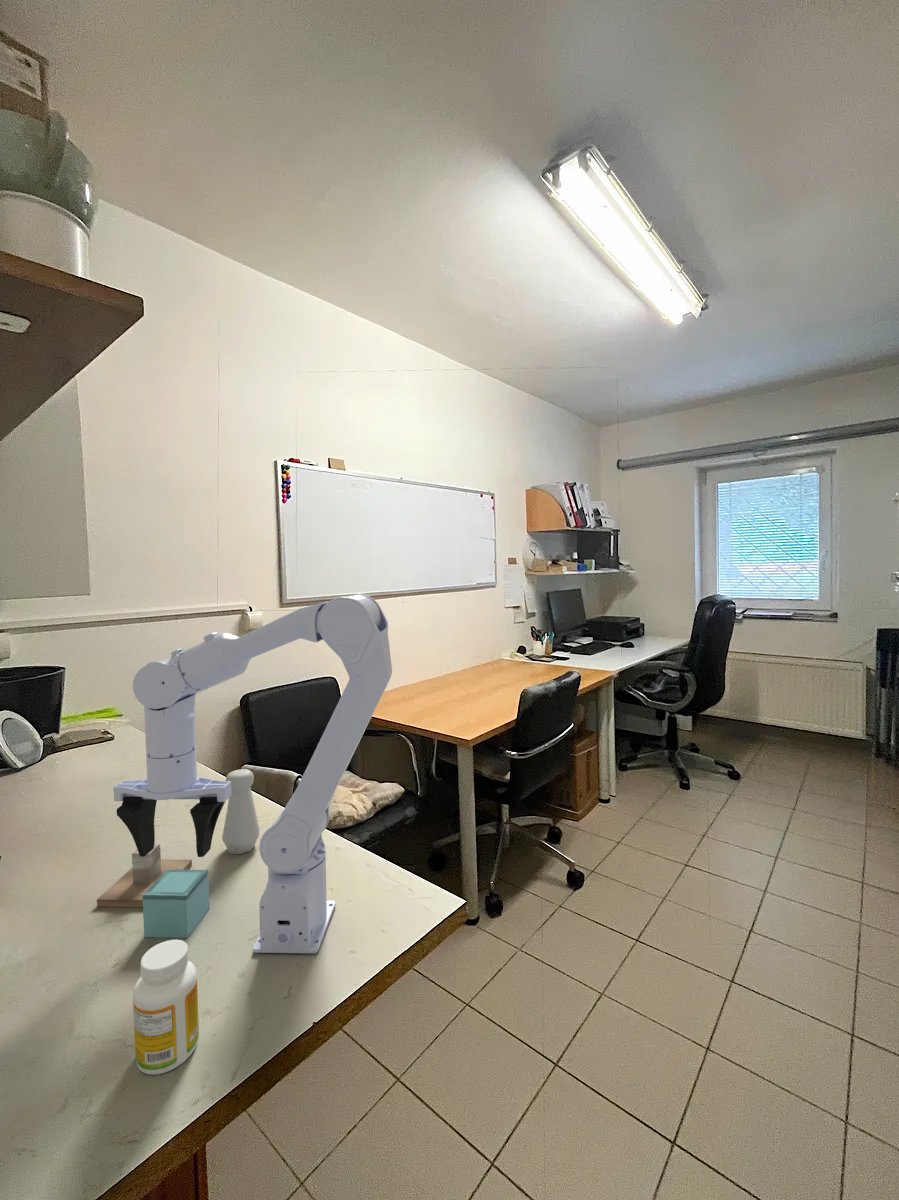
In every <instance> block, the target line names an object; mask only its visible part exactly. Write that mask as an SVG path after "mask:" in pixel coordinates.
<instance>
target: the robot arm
mask: <svg viewBox="0 0 899 1200" xmlns="http://www.w3.org/2000/svg"><path fill="white" fill-rule="evenodd" d="M301 639H302V640H305V641H309V642H313V643H318V642H320V641H324V642H325V644H326V646H328V647H329V648H330V649H331V650H332V651H333V652H334V653H335V654H336V655H337V657H339V658H340V660H341V662H342V664H343V666H344V669H345V671H346V673H347V675H348V677H349V679H348V681H347V683H346V685H345V688H344V689H343V692H342V694H341V696H340V698H339V701H337V702H338V703H337V704H336V707H335V708H334V710H333V713H332V715H331V717H330V719H329V721H328V723H327V725H326V727H325V729H324V731H323V733H322V735H321V737H320V739H319V742H318V743H317V746H316V748H315V750H314V752H313V754H312V756H311V758H310V760H309V762H308V765H306V766H307V767H306V769H305V771H304V772H303V775H302V777H301V779H300V781H299V783H298V785H297V786H296V789H295V791H294V793H293V794H292V796H291V797H290V799H289V801H288V802H287V803H286V805H285V807H284V809H283V810H282V812H281V813H280V814H279V815H278V817H277V818H276V819H275V821H273V823H272V825H271V826H269V828H267V829H266V830H265V831H264V833H263V834H262V836H261V838H260V841H259V847H258V848H259V855H260V857H261V859H262V861H263V863H264V864H265V866H267V871H268V873H267V875H268V876H267V877H268V878H267V883H266V887H265V889H264V891H263V893H262V895H261V897H260V900H259V905H258V907H259V909H258V911H259V912H258V913H259V914H258V915H259V935H258V936H257V939H256V941H255V942H254V945H253V946H252V952H253V953H259V954H260V953H261V954H262V953H264V954H265V953H266V954H267V953H268V954H269V953H270V954H275V953H276V954H316V953H317V952H319V949H320V947H321V944H322V942H323V939H324V936H325V934H326V931H327V928H328V926H329V923H330V921H331V918H332V915H333V913H334V911H335V908H336V901H335V900H330V899H329V900H328V899H327V860H326V859H327V856H326V855H327V853H326V849H327V848H326V846H325V842H324V840H323V837H322V836H323V834H322V833H324V831H325V830H326V829H327V826H328V825H329V822H330V806H331V803H332V800H333V798H334V796H335V792H336V791H337V788H338V786H339V784H340V782H341V781H342V778H343V777H344V774H345V772H346V770H347V769H348V767H349V764H350V762H351V760H352V757H353V755H354V754H355V752H356V750H357V748H358V746H359V743H360V741H361V739H362V737H363V735H364V733H365V731H366V729H367V727H368V725H369V723H370V721H371V719H372V717H373V714H374V713H375V711H376V709H377V707H378V705H379V703H380V700H382V699H381V698H382V696H383V694H384V692H385V690H386V689H387V686H388V685H389V682H390V680H391V678H392V673H393V667H392V665H393V664H392V659H391V650H390V639H389V622H388V620H387V617H386V616H385V613H384V612H383V610H382V608H381V606H380V604H379V603H378V602H377V600H375V599H374V598H373V597H371V596H369V595H368V594H364V593H354V594H350V595H348V596H339V597H335V598H333V599H331V600H329V601H325V602H321V603H316V604H313V605H309V606H305V607H301V608H299V609H296V610H293V611H291V612H289V613H288V614H286V615H283V616H282V617H281V616H280V617H279V618H277V619H275V620H273V621H271V622H269V623H267V624H265V625H262V626H260V627H258V628H256V629H254V630H252V631H249V632H248V633H245V634H243V635H242V636H237V635H234V634H231V633H228V632H223V633H220V634H219V632H218V631H215V632H211V633H209V634H207V635H204V636H203V640H204V641H202V642H200V643H198V644H195V645H193V646H190V647H188V648H187V649H185V650H184V649H183V648H177V649H175V650H173V651H171V652H170V655H171V656H170V658H165V659H163V660H160V661H159V660H158V661H150V662H148V663H146V664H145V666H143V667H141V668H140V669H139V670H138V671H137V672H136V673H135V675H134V678H133V680H132V691H133V694H134V696H135V699H136V700H137V701H138V703H140V704H141V705H143V712H144V713H143V714H144V736H145V757H146V758H145V759H146V760H145V761H146V778H145V779H135V780H123V781H120V783H117V784H116V785H115V786H113V801H114V802H122V803H121V805H120V806H119V807H117V808H116V816H117V817H118V818H119V819H120V820H121V821H122V823H124V825H125V826H126V828H127V830H128V831H129V832H130V834H131V837H132V839H133V842H134V843H135V845H136V850H137V849H138V852H139V855H140V857H145V856H146V855H147V854H148V853H149V852H150V851H151V850H152V849H154V844H156V843H155V841H156V838H155V837H156V836H155V834H156V833H155V817H156V808H157V807H156V806H157V801H167V800H199V802H197V803H196V804H195V805H194V806H193V807H192V808H190V809H189V813H190V815H191V818H192V822H193V825H194V830H195V839H196V840H195V841H196V842H195V844H196V845H195V849H196V855H197V858H204V857H205V856H206V855H207V853H208V852H210V850H211V848H212V841H213V836H214V832H215V830H216V829H215V828H216V825H217V822H218V819H219V816H220V814H221V812H222V809H223V808H224V806H225V804H226V801H227V800H229V797H230V796H231V781H226V780H218V779H212V778H207V777H202V776H198V764H197V763H198V762H197V740H196V737H197V735H196V710H195V707H196V696H197V694H198V693H201V692H204V691H205V690H208V689H211V688H213V687H215V686H217V685H219V684H222V683H225V682H226V681H229V680H231V679H234V678H236V677H238V676H240V675H242V674H244V673H245V672H246V670H247V668H248V665H249V663H250V660H251V659H253V658H255V657H258V656H260V655H263V654H266V653H267V652H271V651H273V650H275V649H277V648H280V647H282V646H284V645H288V644H290V643H292V642H294V641H297V640H301Z"/></svg>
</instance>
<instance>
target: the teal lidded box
mask: <svg viewBox="0 0 899 1200" xmlns="http://www.w3.org/2000/svg"><path fill="white" fill-rule="evenodd" d="M209 881H210V879H209V869H189V870H167V871H166V872H165V873H164V874H163V875H162V876H161V877H160V878H159V879H158V880H157V881H156V882H155V883H154V884H153V885H152V886H151V887H150V888H149V889H148V890H147V891H146V892H145V893H144V894H143V907H142V915H143V916H142V917H143V918H142V919H143V937H144V938H173V939H175V938H176V939H177V938H179V939H181V938H184V939H185V938H186V939H188V938H189V937H190V936H191V934H192V932H194V930H195V928H197V926H198V925H199V924H200V922H201V921H202V920H203V918H204V917H205V916H206V914H207V913H208V912H209V911H210V887H209V886H210V885H209Z"/></svg>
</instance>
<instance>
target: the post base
mask: <svg viewBox="0 0 899 1200" xmlns="http://www.w3.org/2000/svg"><path fill="white" fill-rule="evenodd" d="M131 864H132V865H131V866H132V867H131V868H130V869H129V870H128V871H127V872H126V873H124V874H123V876H121V877H120V878H119V879H118V880H117V881H116V882H115V883H113V885H111V886H110V887H109V888H108V889H107V890H105V892H103V893H102V894H101V895H100V896H98V898H97V899H96V906H97V907H103V908H104V907H105V908H106V907H111V908H113V907H114V908H115V907H117V908H124V907H125V908H143V894H144V893H145V892H146V891H147V890H148V889H149V888H150V887H151V886H152V885H153V884H154V883H155V882H156V881H157V880H158V879H159V878H160V877H161V876H162V875H163V874H164V873H165V872H166V871H167V870H191V868H192V866H193V860H192V859H168V858H167V859H166V858H165V859H162V858H161V844H160V843H154V849H152V850H151V851H150V852H149V853H148V854H147V855H146V856H145V857H140V855H139V852H138V849H137V848H136V849H135V850H134V851H133V852H132V853H131Z"/></svg>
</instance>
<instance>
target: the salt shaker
mask: <svg viewBox="0 0 899 1200" xmlns="http://www.w3.org/2000/svg"><path fill="white" fill-rule="evenodd" d="M225 778H226V779H225V781H231V796H230V797H229V798H228V801H227V809H226V814H225V820H224V824H223V830H222V836H221V838H222V839H221V840H222V842H223V844H224V845H225V847H226V849H227V852H228V853H229V854H231V855H237V854H241V855H242V853H243V854H246V853H248V852H247V851H249V852H251V851H252V850H253V849H254V847H255V846H254V845H256V843H257V841H258V838H259V837H260V836H259V835H260V830H261V829H260V825H259V820H258V816H257V812H256V807H255V801H254V796H253V793H252V788H251V786H253V784H254V778H255V776H254V773H253V772H252V771H251V770H250V769H246V768H242V769H236V770H233V771H230V772H229V773H228V774H227V775H226V777H225ZM252 848H253V849H252ZM250 850H251V851H250ZM245 852H246V853H245Z"/></svg>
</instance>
